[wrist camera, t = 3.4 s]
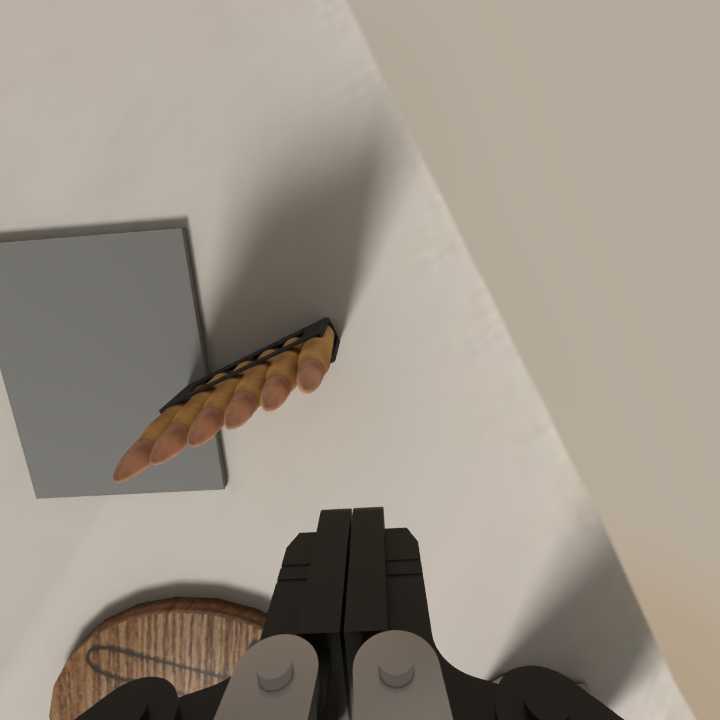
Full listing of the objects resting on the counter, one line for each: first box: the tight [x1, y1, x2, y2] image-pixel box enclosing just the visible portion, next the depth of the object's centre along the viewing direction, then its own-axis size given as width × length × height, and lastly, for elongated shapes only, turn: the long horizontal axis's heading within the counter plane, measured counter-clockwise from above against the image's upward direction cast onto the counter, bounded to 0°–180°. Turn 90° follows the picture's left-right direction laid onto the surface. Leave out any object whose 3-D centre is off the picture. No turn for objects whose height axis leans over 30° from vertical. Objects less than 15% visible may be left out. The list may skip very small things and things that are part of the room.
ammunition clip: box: [113, 318, 340, 483], centre depth 24 cm, size 11×2×12 cm, turn 116°
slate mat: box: [0, 228, 227, 499], centre depth 30 cm, size 14×18×1 cm
